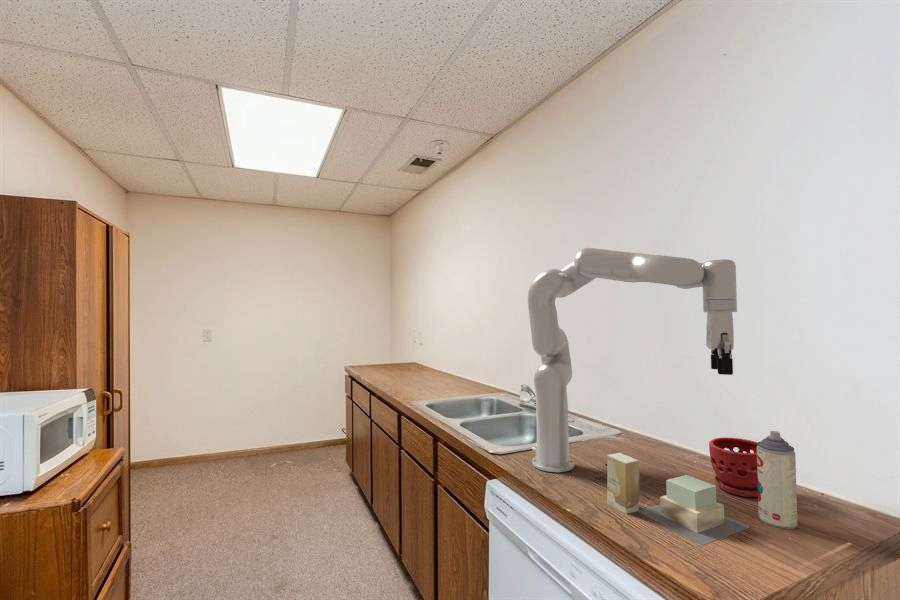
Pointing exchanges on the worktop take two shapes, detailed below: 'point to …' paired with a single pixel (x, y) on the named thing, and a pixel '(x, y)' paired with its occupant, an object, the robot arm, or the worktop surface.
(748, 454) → the plant pot
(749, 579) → the worktop surface
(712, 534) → the mat
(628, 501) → the skincare box
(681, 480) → the top block
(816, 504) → the worktop surface
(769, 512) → the aerosol can
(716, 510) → the base block
